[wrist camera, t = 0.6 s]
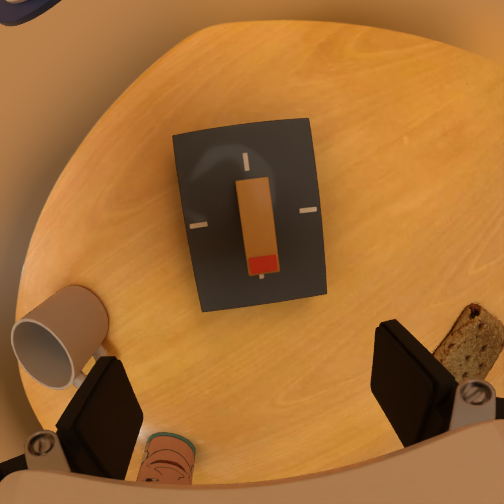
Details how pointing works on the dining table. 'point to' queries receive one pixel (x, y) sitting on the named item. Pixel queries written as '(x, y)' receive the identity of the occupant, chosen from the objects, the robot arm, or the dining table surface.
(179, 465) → the printed cylinder
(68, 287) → the cup
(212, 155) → the plate
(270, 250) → the red-cornered brown block
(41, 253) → the dining table surface
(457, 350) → the pastry
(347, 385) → the dining table surface
